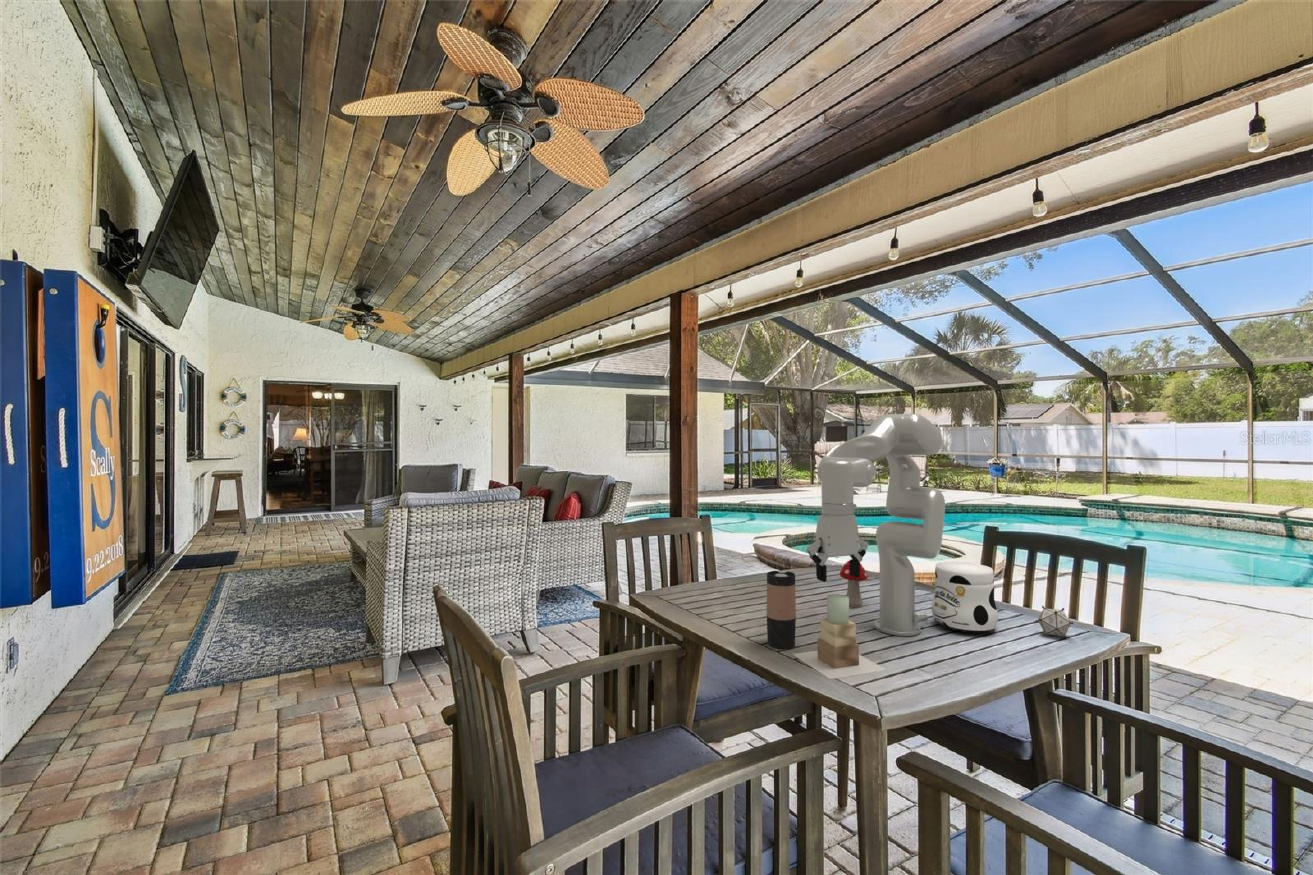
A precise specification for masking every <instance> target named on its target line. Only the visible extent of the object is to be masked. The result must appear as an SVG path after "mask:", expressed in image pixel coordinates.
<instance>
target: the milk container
mask: <svg viewBox="0 0 1313 875" xmlns="http://www.w3.org/2000/svg"><path fill="white" fill-rule="evenodd" d="M934 574H935V577H934V595H933V599H932V603H931V613H932V618H933V620H934V622H936V623H937V624H938V625H939V626H940V627H941V626H942V627H945V628H946V629H948V630H952V631H953V630H954V631H956V632H963V633H970V634H971V633H972V634H977V633H978V634H979V633H983V634H984V633H988V632H992V631H994V629H996V628H997V625H998V619H999V612H998V609H997V605H996V601H995V573H994V570H993V568H992V567H990V566H987V565H984V564H979V563H974V562H967V561H942V562H941V561H940V562H938V563H935V568H934Z"/></svg>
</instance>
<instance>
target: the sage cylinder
mask: <svg viewBox="0 0 1313 875" xmlns="http://www.w3.org/2000/svg"><path fill="white" fill-rule="evenodd" d="M826 618H827V621H828V622H829V623H832V624H837V625H845V624H848V623H849V621H850V606H849V597H848V596H846V595H845V594H837V593H833V594H832V593H831V594H828V595H827V596H826Z"/></svg>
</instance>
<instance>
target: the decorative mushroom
mask: <svg viewBox="0 0 1313 875" xmlns="http://www.w3.org/2000/svg"><path fill="white" fill-rule="evenodd" d="M839 576H840V577H841V578H843V580H847V590H846V595H845V596H848V597H849V607H850V608H861V607H862V606H863V603H864V601H863V598H862V595H861V588H860V582H863V581H867V580H868V579H869V578H868V577H869V576H868V573H867V571H866V569H865V567H864V566H863V565H862V563H861V562H860V578H856V577H853V576H851V575H850V560H847V561H846V562H845V563H844V564H843V566H842V568H841V569H840V571H839Z"/></svg>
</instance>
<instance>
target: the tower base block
mask: <svg viewBox="0 0 1313 875" xmlns="http://www.w3.org/2000/svg"><path fill="white" fill-rule="evenodd" d="M816 640H817V644H816V645H817V646H816V647H817V651H818V659H819V660H821V661H823V662H824V663H826V664H828V665H829V666H831V667H832V668H834V669H837V668H844V667H850V666H857V665H859V655H860V645H859V643H857V642H856V644H853V645H846V646H839V647H834V646H832V645H830V644H829V643H827V642H825V641H823V640H822V639H820V637H817V639H816Z"/></svg>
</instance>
